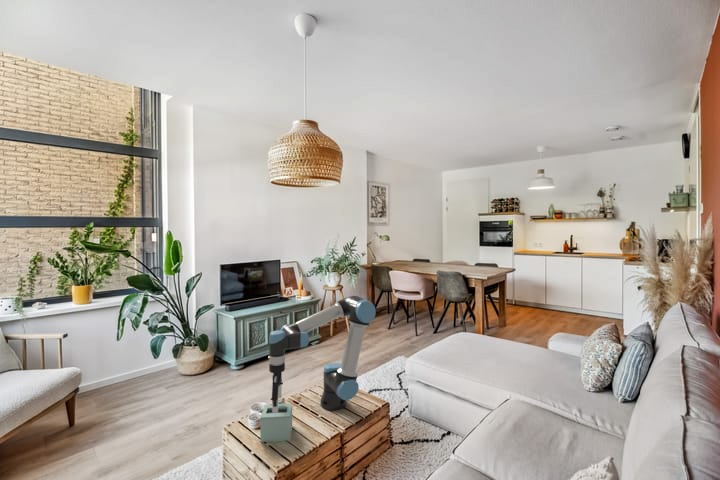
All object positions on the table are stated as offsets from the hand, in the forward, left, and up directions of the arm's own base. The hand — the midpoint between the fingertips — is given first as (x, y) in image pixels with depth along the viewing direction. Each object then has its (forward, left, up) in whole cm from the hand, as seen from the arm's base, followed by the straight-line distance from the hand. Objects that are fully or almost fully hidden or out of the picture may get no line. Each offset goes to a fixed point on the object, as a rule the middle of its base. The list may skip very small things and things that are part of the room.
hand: (277, 404), depth 173 cm
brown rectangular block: (0, 0, -14) cm, 14 cm away
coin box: (0, 0, -15) cm, 15 cm away
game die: (+1, -18, -15) cm, 24 cm away
